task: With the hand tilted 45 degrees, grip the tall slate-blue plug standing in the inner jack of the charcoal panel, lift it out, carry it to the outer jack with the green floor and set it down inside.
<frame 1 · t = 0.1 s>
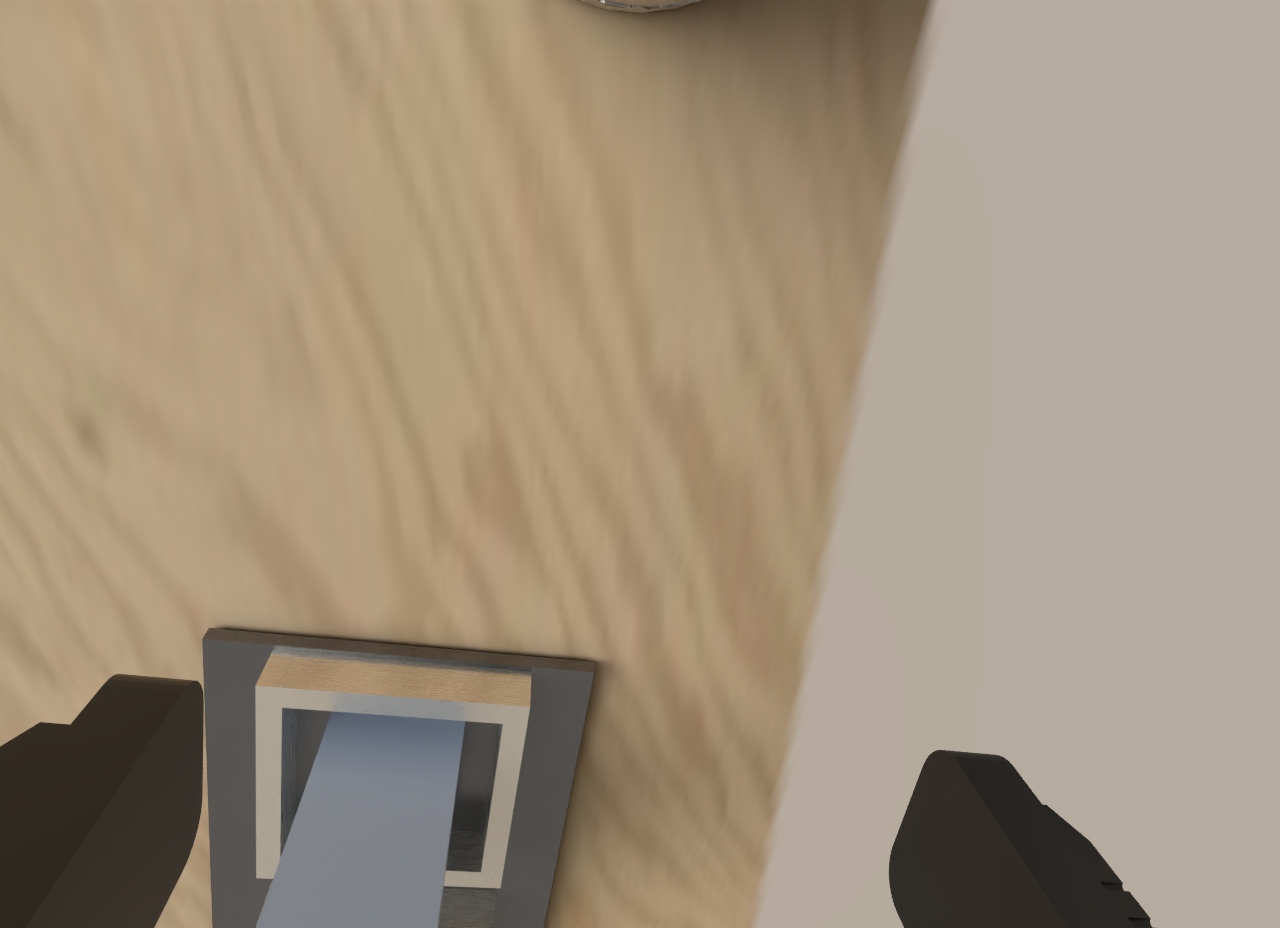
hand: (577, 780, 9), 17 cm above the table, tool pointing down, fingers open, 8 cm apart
panel: (390, 851, 33), on the table
plug: (397, 756, 30), point 1 cm above the table, touching panel
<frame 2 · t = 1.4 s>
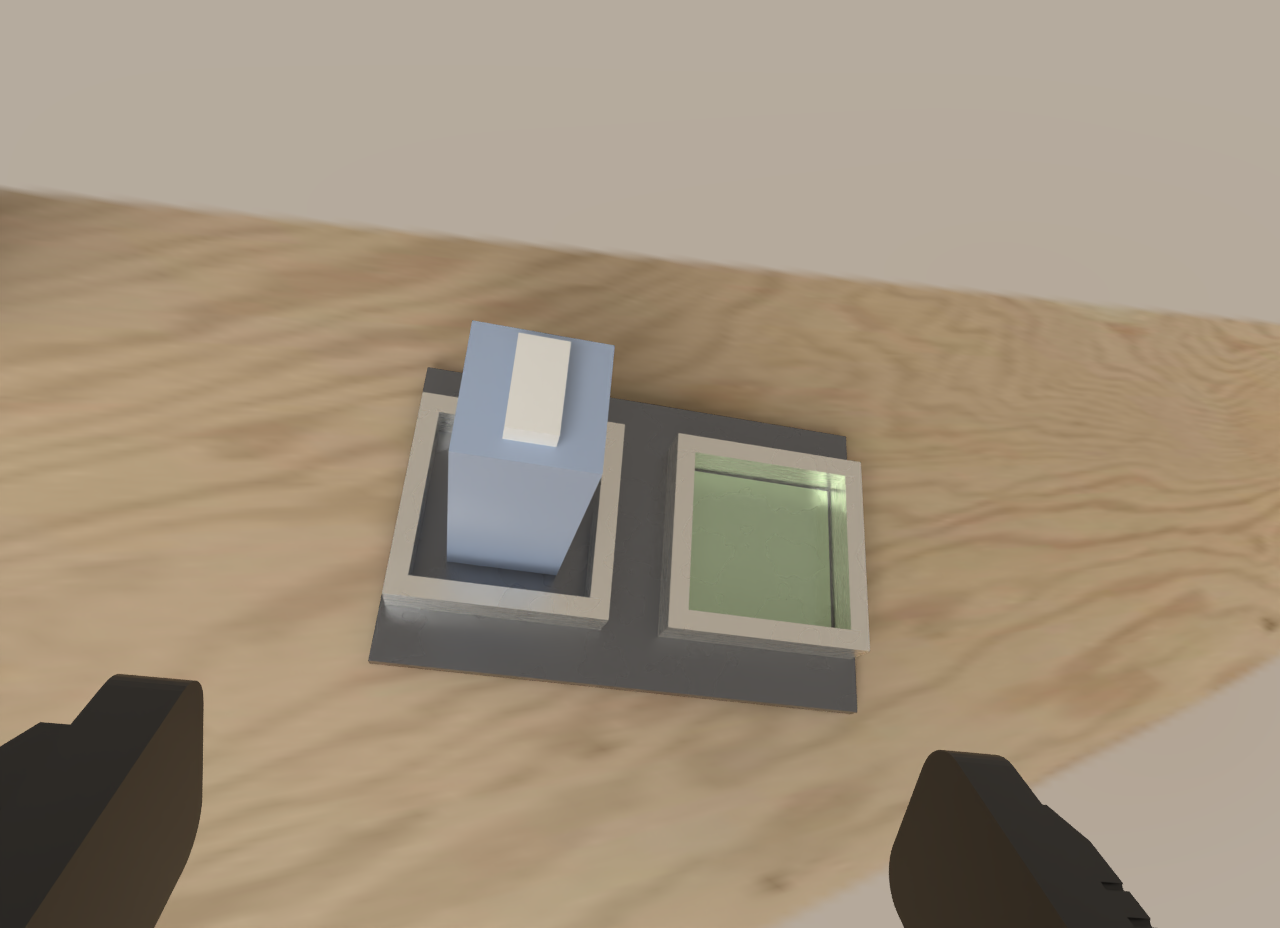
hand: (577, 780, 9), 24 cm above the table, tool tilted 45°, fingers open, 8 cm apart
panel: (633, 539, 36), on the table
plug: (509, 517, 35), point 1 cm above the table, touching panel
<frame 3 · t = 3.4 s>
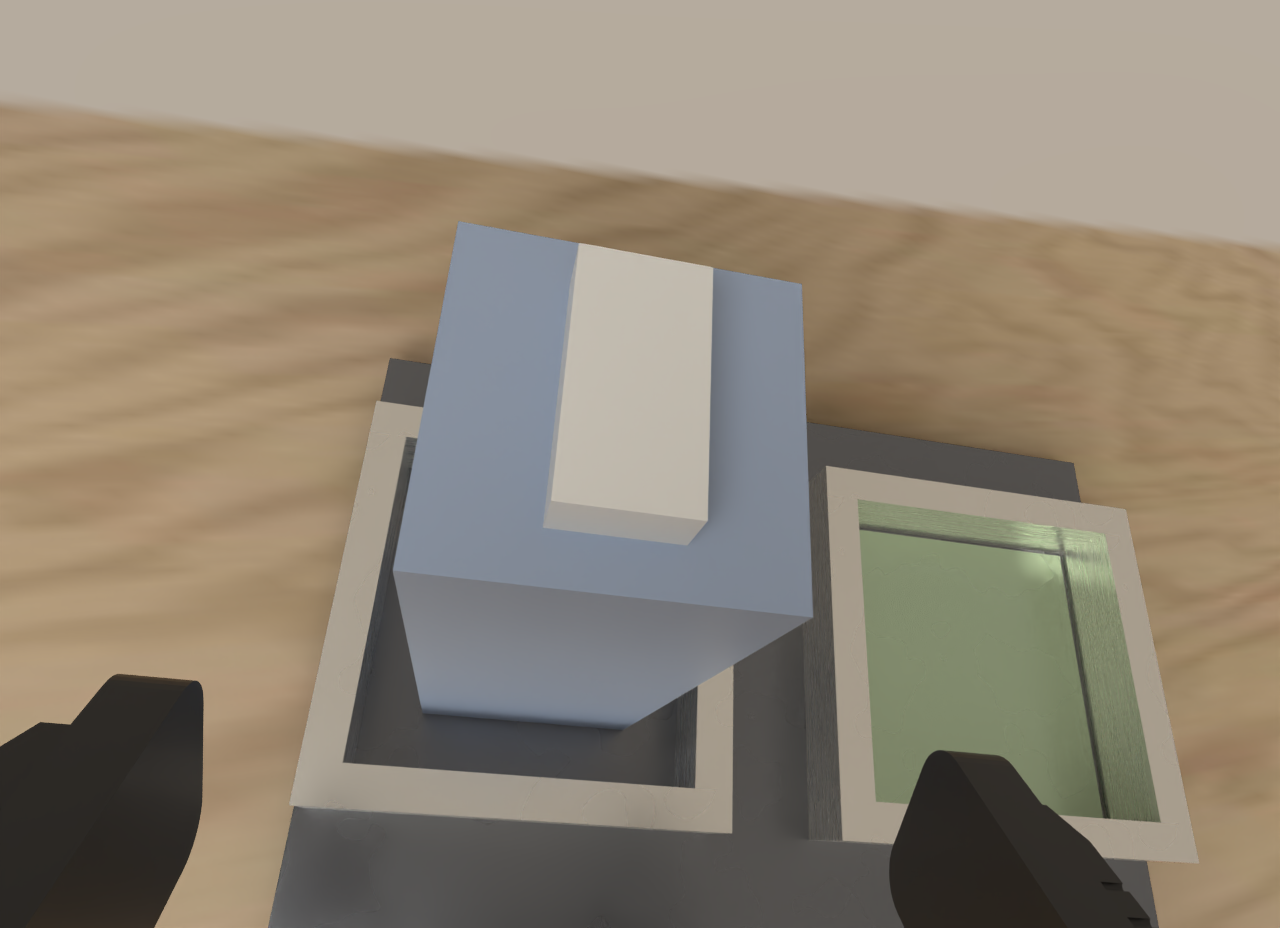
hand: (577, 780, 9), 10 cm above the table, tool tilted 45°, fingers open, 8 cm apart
panel: (749, 650, 21), on the table
plug: (535, 622, 19), point 1 cm above the table, touching panel
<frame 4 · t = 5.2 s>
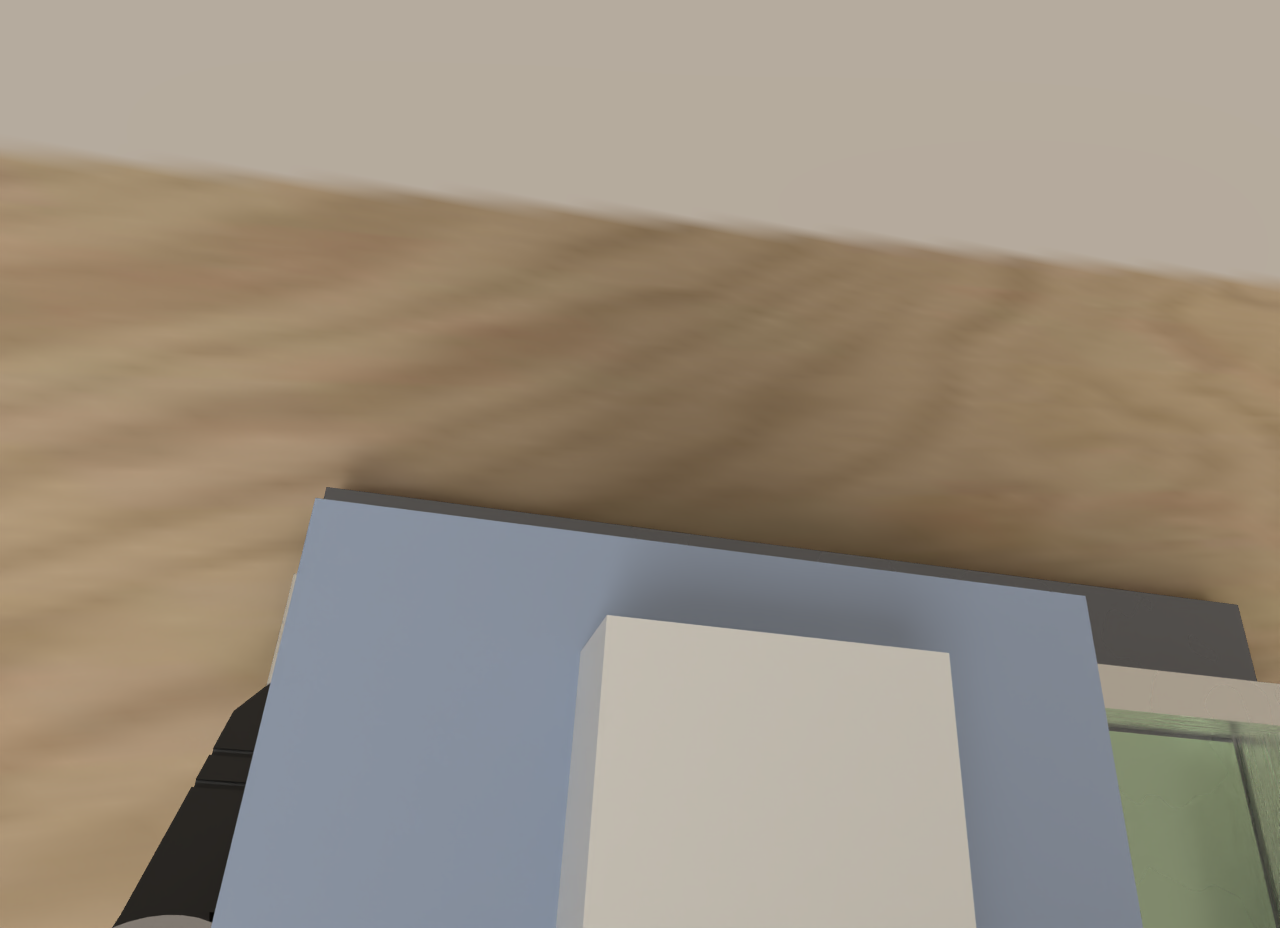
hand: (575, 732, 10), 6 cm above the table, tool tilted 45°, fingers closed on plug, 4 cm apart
panel: (825, 901, 15), on the table
plug: (524, 886, 14), point 1 cm above the table, touching gripper, panel
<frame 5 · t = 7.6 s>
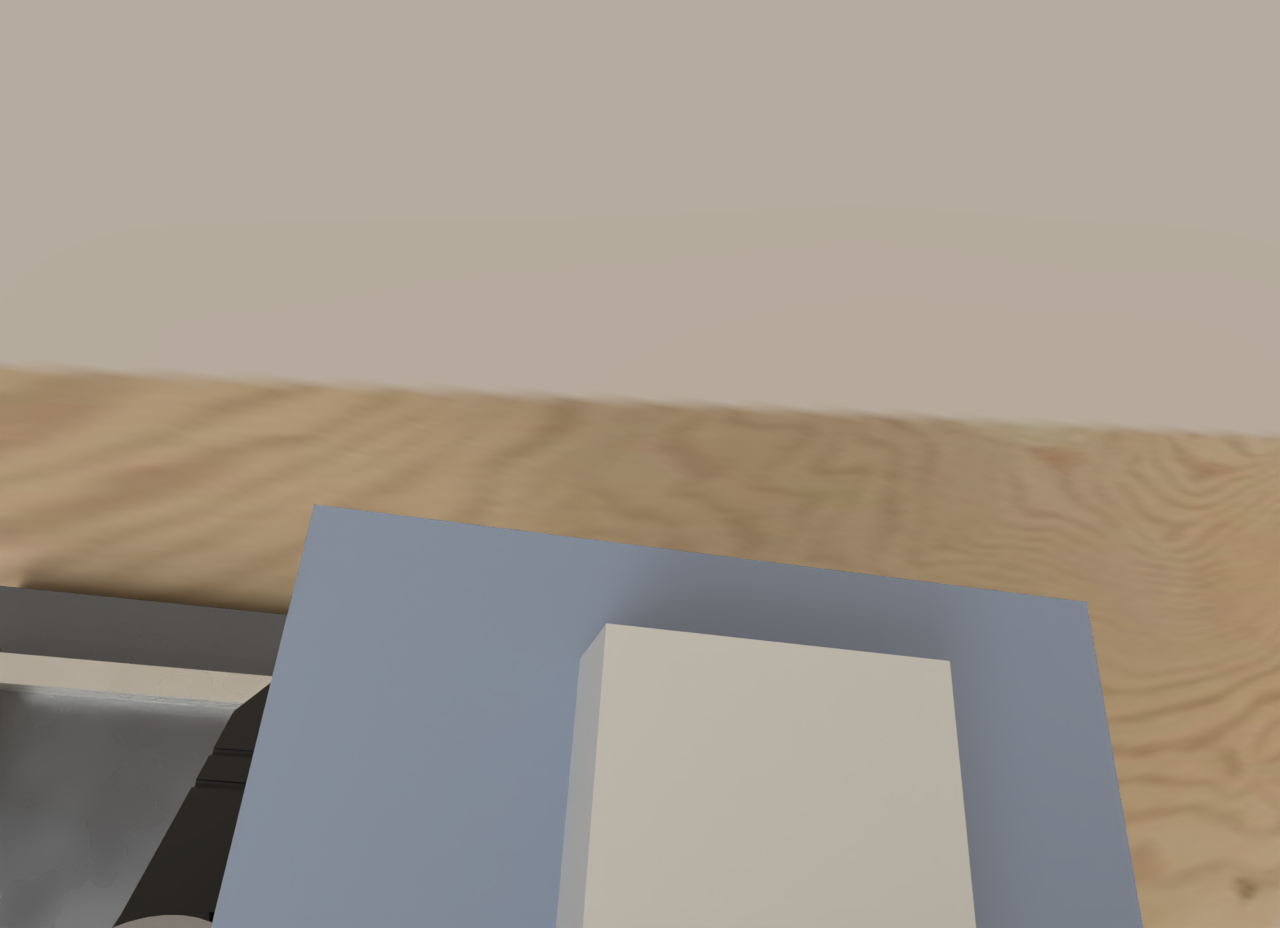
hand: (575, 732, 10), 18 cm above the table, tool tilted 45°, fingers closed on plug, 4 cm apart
panel: (299, 840, 24), on the table
plug: (524, 889, 13), point 13 cm above the table, touching gripper
when the fingers open (7 cm above the table, at t = 10.2 s): plug stays where it is, resting on panel.
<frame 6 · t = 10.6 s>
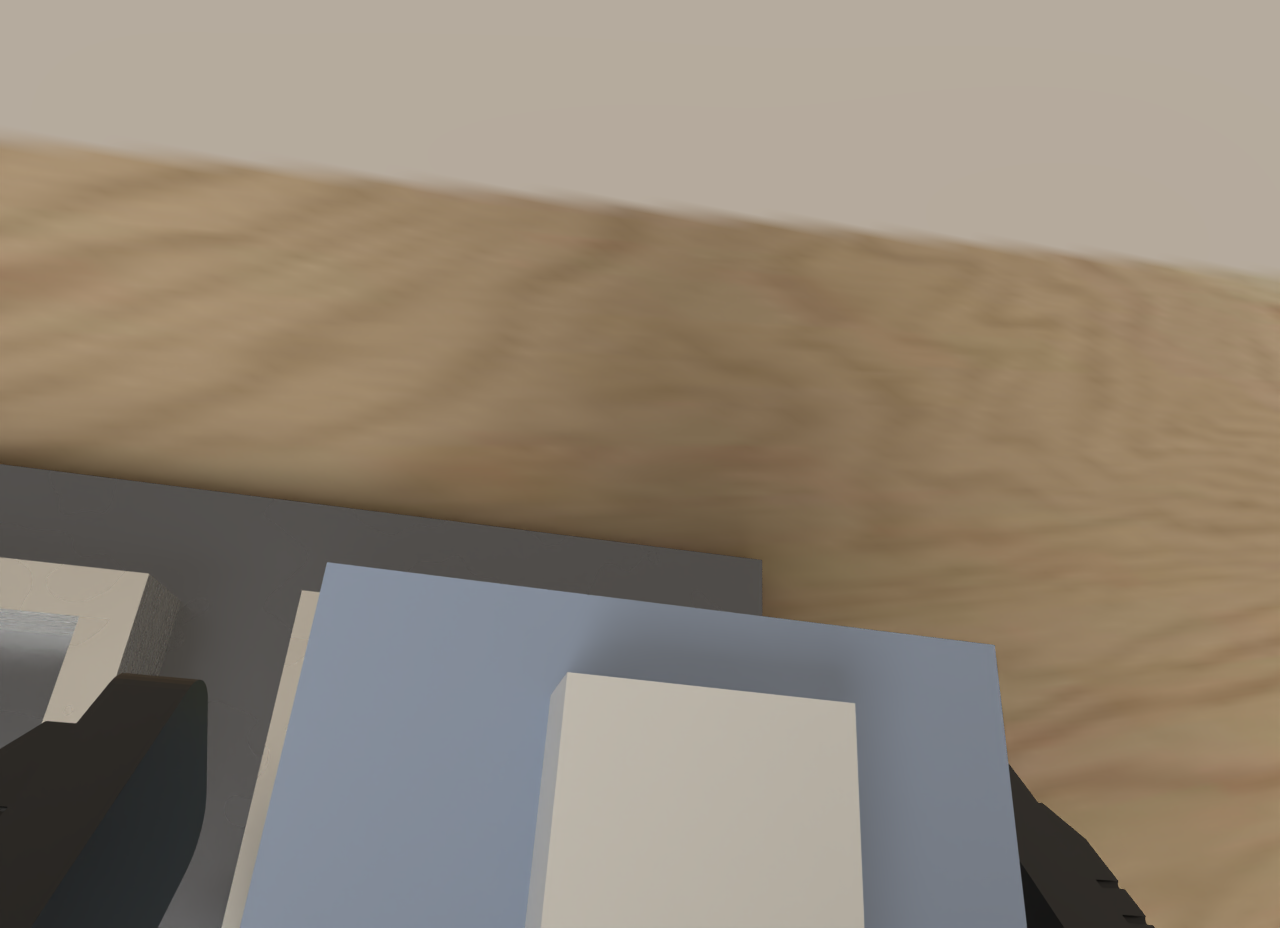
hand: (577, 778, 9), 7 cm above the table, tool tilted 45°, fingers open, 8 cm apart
panel: (192, 864, 14), on the table
plug: (516, 890, 14), point 1 cm above the table, touching panel
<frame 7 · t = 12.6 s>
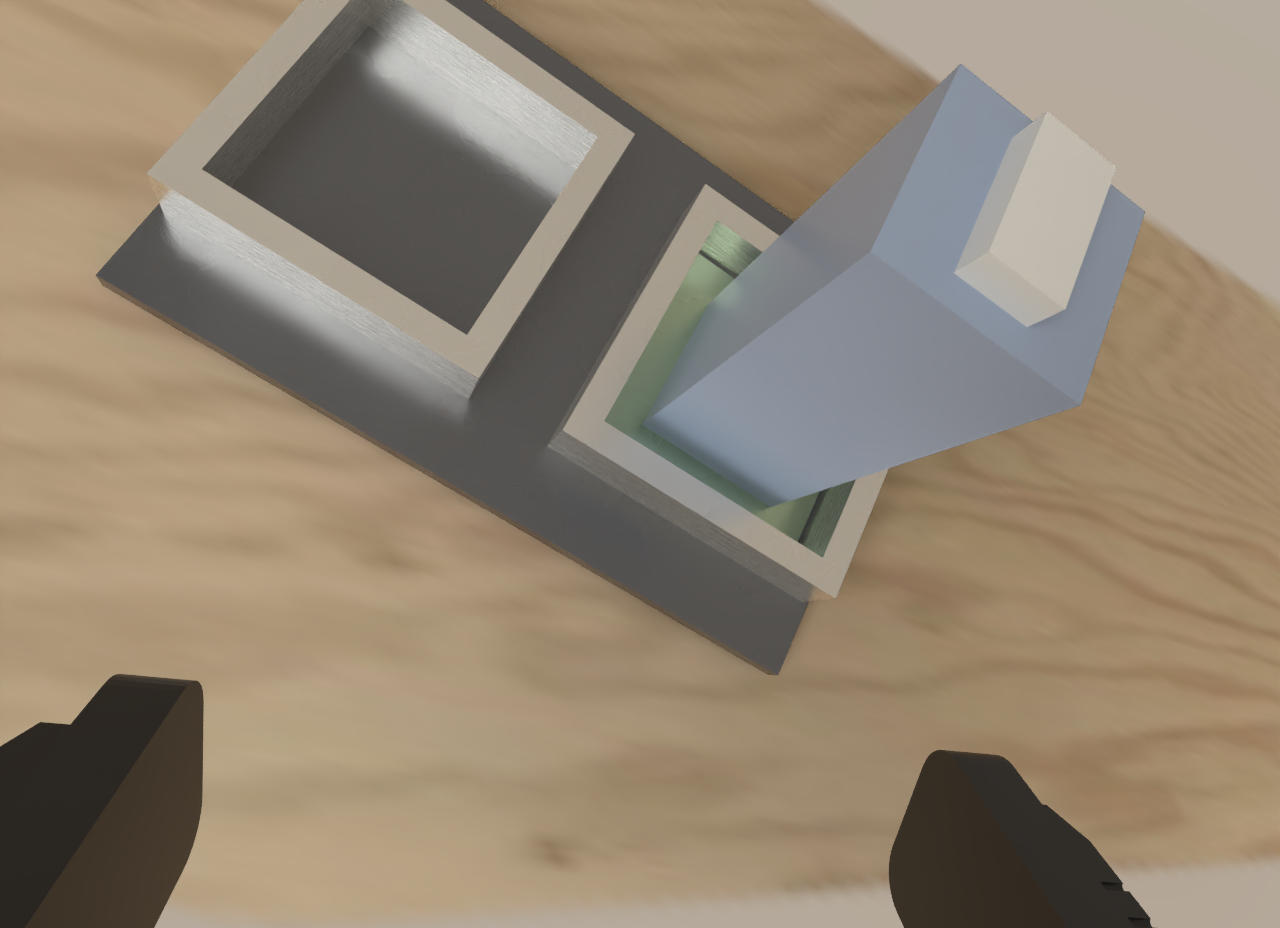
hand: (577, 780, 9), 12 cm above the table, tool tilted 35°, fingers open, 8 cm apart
panel: (577, 307, 24), on the table
plug: (739, 403, 24), point 1 cm above the table, touching panel
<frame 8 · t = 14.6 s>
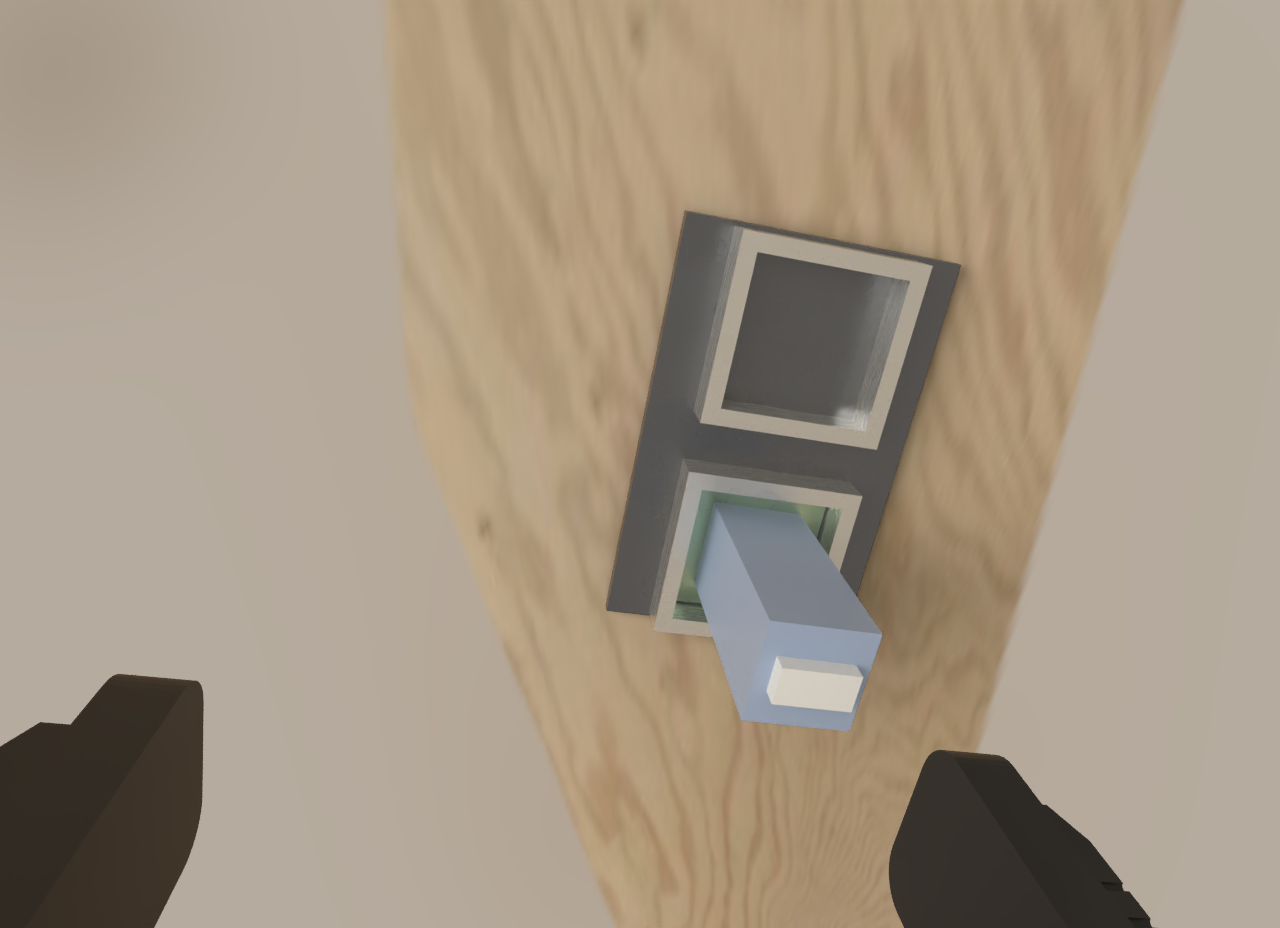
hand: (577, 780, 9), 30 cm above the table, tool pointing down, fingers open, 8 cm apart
panel: (770, 443, 41), on the table
plug: (746, 548, 42), point 1 cm above the table, touching panel
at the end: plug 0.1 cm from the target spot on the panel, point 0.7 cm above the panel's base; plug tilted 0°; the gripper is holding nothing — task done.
